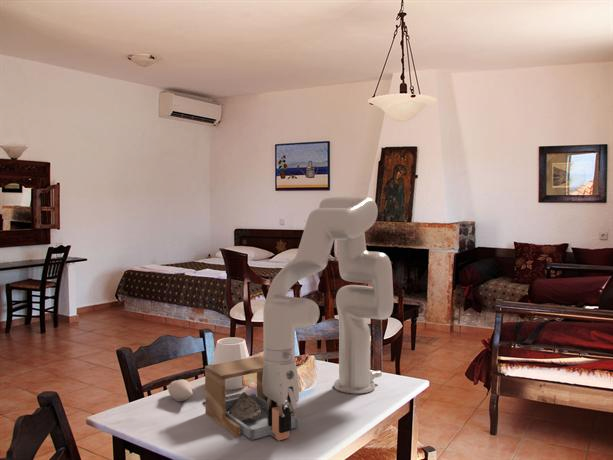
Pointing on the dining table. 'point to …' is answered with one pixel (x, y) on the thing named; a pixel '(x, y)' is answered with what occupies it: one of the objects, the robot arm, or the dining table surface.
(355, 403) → the dining table surface
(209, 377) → the brown wooden arch frame
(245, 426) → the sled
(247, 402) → the rock sample
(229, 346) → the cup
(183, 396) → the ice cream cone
